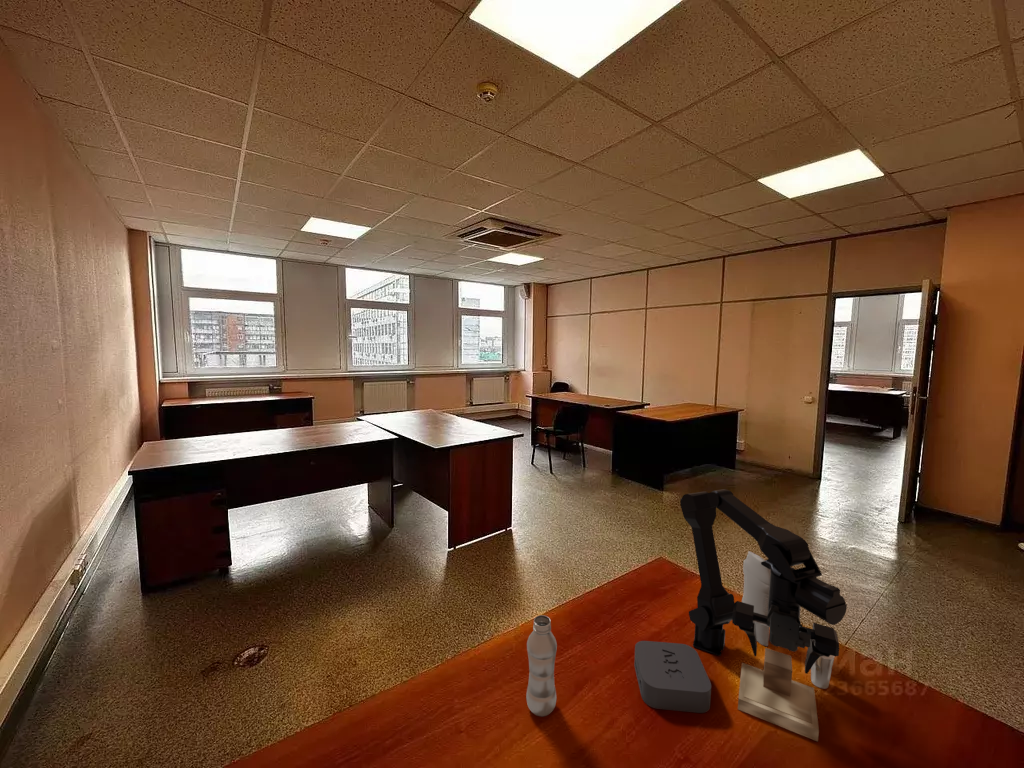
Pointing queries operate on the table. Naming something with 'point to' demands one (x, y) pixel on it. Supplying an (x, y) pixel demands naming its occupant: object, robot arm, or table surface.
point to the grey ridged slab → (757, 591)
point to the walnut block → (777, 672)
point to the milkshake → (822, 671)
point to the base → (779, 703)
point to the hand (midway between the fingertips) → (780, 663)
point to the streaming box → (672, 677)
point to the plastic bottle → (541, 667)
